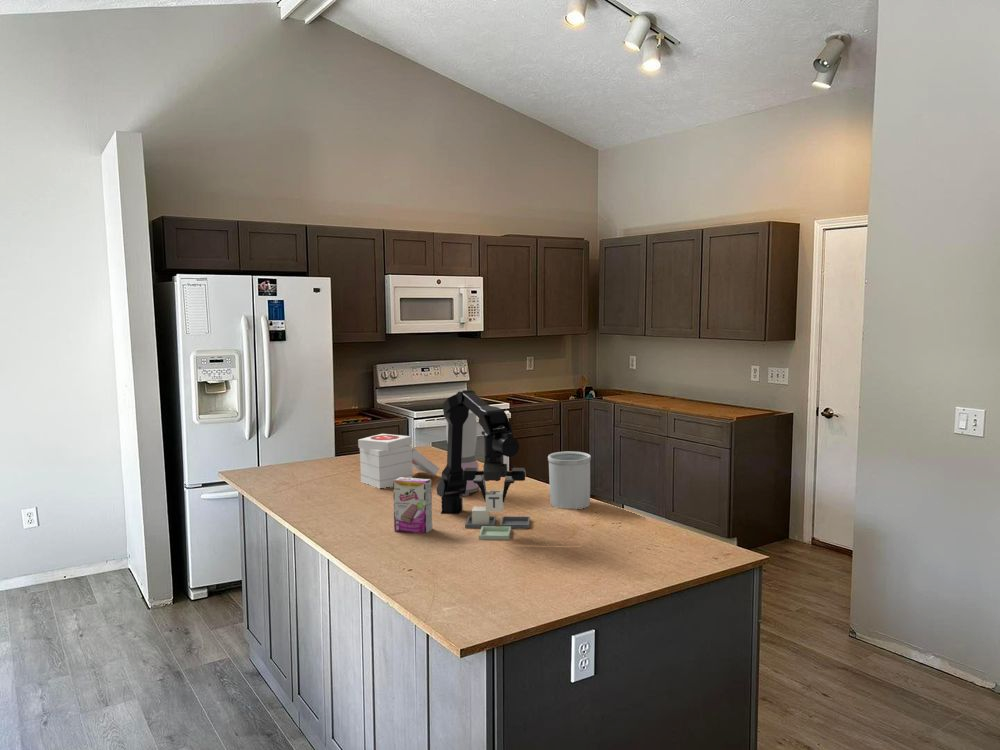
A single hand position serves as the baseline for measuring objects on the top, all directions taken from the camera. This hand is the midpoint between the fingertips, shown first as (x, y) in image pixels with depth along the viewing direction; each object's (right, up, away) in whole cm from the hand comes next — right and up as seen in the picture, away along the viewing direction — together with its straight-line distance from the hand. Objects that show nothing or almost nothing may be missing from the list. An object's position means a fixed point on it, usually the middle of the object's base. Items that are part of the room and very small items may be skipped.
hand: (494, 502), depth 225 cm
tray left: (-4, -9, +12) cm, 16 cm away
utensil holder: (+26, -7, +34) cm, 44 cm away
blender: (-13, -6, +52) cm, 54 cm away
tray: (0, -11, +1) cm, 11 cm away
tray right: (+6, -9, +11) cm, 16 cm away
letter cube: (0, -2, 0) cm, 2 cm away
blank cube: (-4, -9, +12) cm, 16 cm away
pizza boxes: (-39, -4, +75) cm, 84 cm away
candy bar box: (-25, -11, +8) cm, 28 cm away
